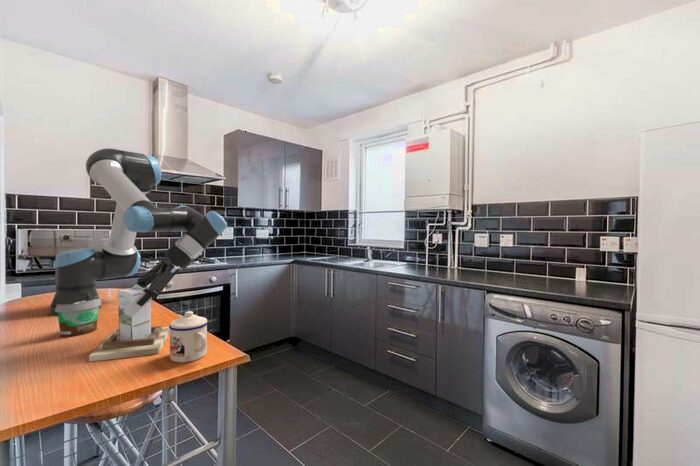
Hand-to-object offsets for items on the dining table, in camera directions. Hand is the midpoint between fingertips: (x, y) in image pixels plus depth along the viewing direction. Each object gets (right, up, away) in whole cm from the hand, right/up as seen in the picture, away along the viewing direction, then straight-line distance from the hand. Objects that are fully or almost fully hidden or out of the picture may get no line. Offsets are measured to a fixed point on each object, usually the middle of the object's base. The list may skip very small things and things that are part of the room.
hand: (124, 308), depth 88 cm
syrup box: (+2, -9, +2) cm, 10 cm away
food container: (-20, -10, +11) cm, 25 cm away
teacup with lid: (+22, -12, -5) cm, 25 cm away
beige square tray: (+2, -11, +2) cm, 11 cm away
